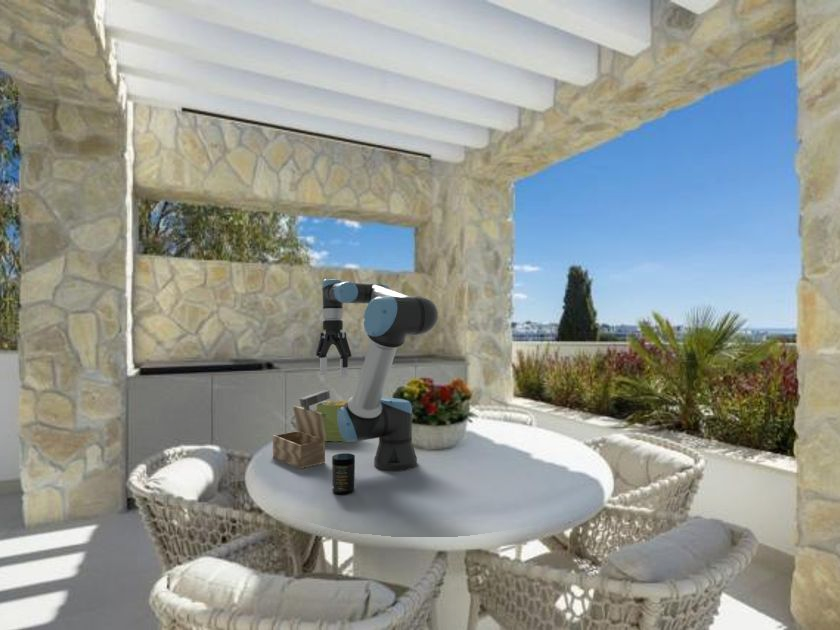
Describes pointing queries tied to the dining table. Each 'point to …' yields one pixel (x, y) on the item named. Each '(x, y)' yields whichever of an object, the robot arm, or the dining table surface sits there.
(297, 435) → the wooden box
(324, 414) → the protein box
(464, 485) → the dining table surface
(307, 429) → the wooden stand with strip
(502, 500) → the dining table surface
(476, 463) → the dining table surface
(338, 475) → the supplement container
